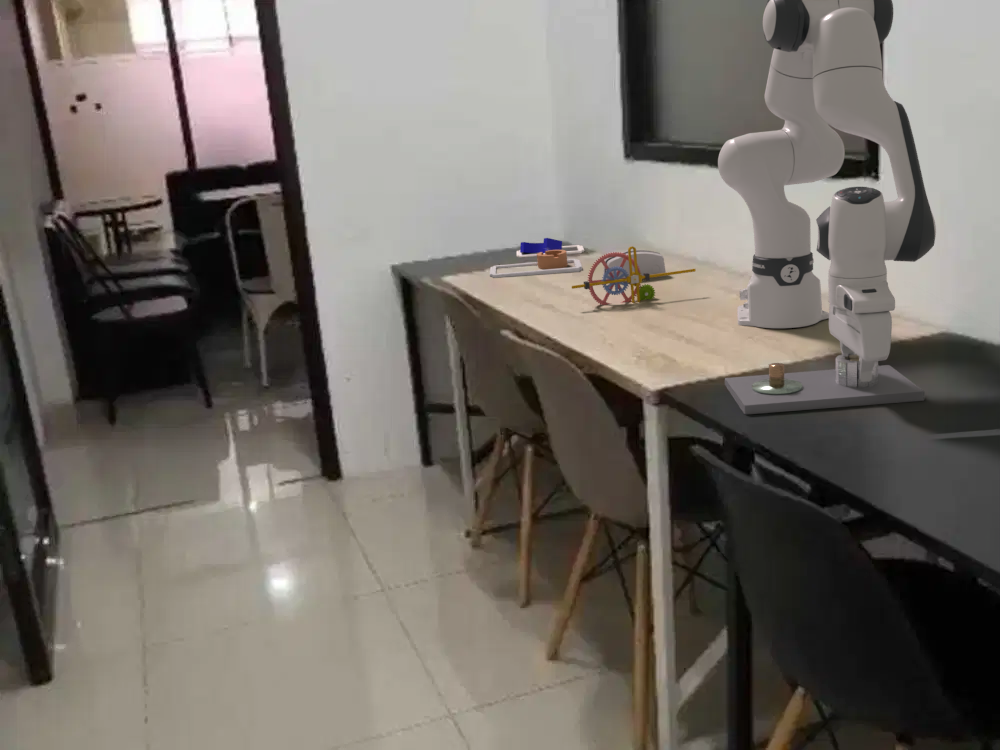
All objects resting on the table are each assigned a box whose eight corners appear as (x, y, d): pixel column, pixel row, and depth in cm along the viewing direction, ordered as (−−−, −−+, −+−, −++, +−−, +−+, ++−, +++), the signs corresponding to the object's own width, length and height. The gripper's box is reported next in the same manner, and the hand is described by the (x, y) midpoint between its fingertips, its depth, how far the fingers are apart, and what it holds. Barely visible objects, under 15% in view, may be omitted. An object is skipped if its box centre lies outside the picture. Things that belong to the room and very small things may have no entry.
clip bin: (517, 263, 325) (516, 250, 323) (582, 257, 324) (581, 244, 323) (517, 269, 313) (516, 256, 312) (585, 264, 312) (584, 250, 311)
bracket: (573, 276, 293) (571, 251, 291) (547, 281, 290) (545, 257, 288) (544, 268, 309) (542, 244, 307) (519, 273, 306) (516, 249, 304)
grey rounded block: (662, 281, 276) (661, 245, 272) (667, 286, 271) (667, 249, 268) (600, 289, 273) (599, 252, 270) (605, 294, 269) (604, 256, 265)
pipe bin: (491, 279, 300) (490, 265, 299) (579, 272, 299) (578, 258, 298) (490, 289, 286) (489, 275, 284) (583, 282, 285) (582, 267, 284)
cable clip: (534, 260, 322) (519, 257, 318) (535, 245, 322) (520, 242, 318) (561, 256, 312) (546, 252, 308) (562, 241, 313) (547, 237, 309)
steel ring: (831, 377, 175) (831, 354, 174) (869, 374, 175) (870, 351, 174) (842, 388, 169) (842, 364, 168) (883, 385, 169) (883, 361, 168)
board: (724, 386, 181) (724, 378, 180) (888, 373, 180) (888, 365, 179) (744, 414, 165) (744, 405, 165) (924, 400, 164) (924, 391, 164)
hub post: (747, 383, 176) (746, 360, 175) (795, 379, 176) (794, 356, 175) (758, 396, 169) (757, 373, 168) (808, 392, 168) (807, 369, 167)
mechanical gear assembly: (575, 318, 242) (570, 254, 238) (570, 315, 246) (565, 252, 242) (697, 302, 247) (695, 239, 243) (691, 299, 251) (688, 237, 247)
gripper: (819, 281, 178) (819, 359, 182) (857, 305, 158) (857, 393, 162) (856, 277, 178) (856, 356, 181) (899, 301, 158) (898, 389, 162)
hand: (857, 374), depth 171 cm, fingers closed on steel ring, 6 cm apart
